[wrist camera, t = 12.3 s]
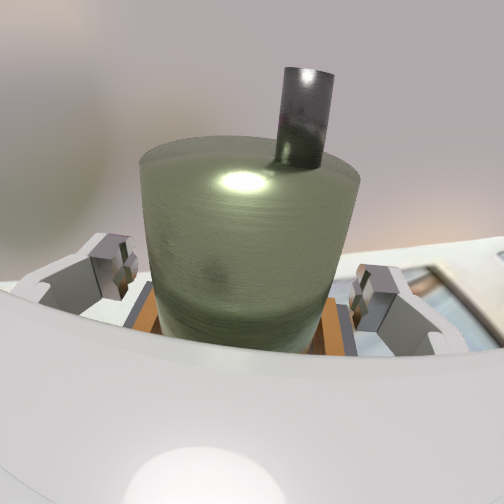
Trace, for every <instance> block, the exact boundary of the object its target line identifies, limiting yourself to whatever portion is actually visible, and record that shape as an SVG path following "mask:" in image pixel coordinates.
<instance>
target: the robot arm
mask: <svg viewBox="0 0 504 504" xmlns="http://www.w3.org/2000/svg"><path fill="white" fill-rule="evenodd" d="M134 249H135V242H134V239H133V238H132V237H131V236H123V235H116V234H108V233H101V232H100V233H96V234H95V235H94V236H93V237H92V238H91V239H90V240H89V241H88V242H87V243H86V244H85V245H84V246H83V247H82V248H81V249H80V251H78V252H77V253H76V254H71V255H69V256H67V257H64V258H62V259H60V260H58V261H55V262H53V263H51V264H49V265H47V266H45V267H42V268H40V269H38V270H36V271H34V272H32V273H30V274H28V275H26V276H24V277H23V278H22V279H21V280H20V281H19V283H18V284H17V285H16V286H15V287H14V288H13V290H12V291H11V292H10V293H8V292H6V291H3V290H0V504H504V348H501V349H493V350H485V351H477V352H470V350H469V348H468V346H467V344H466V342H465V340H464V338H463V335H462V333H461V331H460V330H459V329H458V328H456V327H455V326H454V325H453V324H452V323H450V322H449V321H448V320H447V319H445V318H444V317H443V316H442V315H441V314H439V313H438V312H437V311H436V310H434V309H433V308H432V307H431V306H429V305H428V304H427V303H426V302H424V301H423V300H422V299H420V298H419V297H418V296H417V295H413V294H412V292H411V290H410V288H409V286H408V284H407V282H406V280H405V278H404V276H403V274H402V272H401V271H400V269H399V268H398V267H391V266H378V265H367V264H360V265H359V267H358V269H357V271H356V275H357V278H358V279H357V280H356V281H354V282H353V283H352V285H351V288H350V293H349V305H350V308H351V309H352V310H353V311H354V315H353V317H352V318H353V322H354V326H355V330H356V331H365V332H377V334H378V335H379V337H380V338H381V339H382V340H383V341H384V343H385V344H386V345H387V346H388V347H389V349H390V350H391V351H392V352H393V354H394V355H395V356H396V357H359V356H328V355H310V354H296V353H283V352H273V351H263V350H254V349H245V348H237V347H230V346H223V345H216V344H209V343H203V342H196V341H191V340H185V339H179V338H174V337H168V336H163V335H158V334H153V333H148V332H143V331H139V330H134V329H129V328H125V327H121V326H117V325H112V324H108V323H104V322H100V321H97V320H93V319H89V318H85V317H82V316H78V315H80V314H81V313H82V312H84V311H85V310H87V309H88V308H89V307H91V306H92V305H94V304H95V303H96V302H98V301H99V300H101V299H102V298H107V299H112V300H118V301H122V299H123V297H124V296H125V294H126V292H127V291H128V284H129V283H131V282H133V281H134V279H135V277H136V275H137V271H138V259H137V256H136V255H135V254H134V253H133V250H134Z"/></svg>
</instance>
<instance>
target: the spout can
mask: <svg viewBox="0 0 504 504" xmlns="http://www.w3.org/2000/svg"><path fill="white" fill-rule="evenodd" d="M333 83H334V75H333V74H330V73H326V72H322V71H316V70H311V69H304V68H295V67H294V68H293V67H286V68H285V70H284V80H283V88H282V98H281V107H280V115H279V124H278V133H277V140H275V139H268V138H260V137H249V136H205V137H196V138H188V139H182V140H177V141H173V142H169V143H166V144H162V145H160V146H157V147H155V148H153V149H151V150H149V151H148V152H146V153H145V154H144V155H143V156H142V157H141V159H140V162H139V163H140V181H141V194H142V205H143V215H144V224H145V234H146V242H147V249H148V256H149V264H150V270H151V277H152V283H153V289H154V295H155V300H156V306H157V311H158V316H159V321H160V326H161V331H162V335H163V336H168V337H174V338H179V339H185V340H191V341H196V342H203V343H209V344H216V345H223V346H230V347H237V348H245V349H254V350H263V351H273V352H283V353H296V354H307V353H308V350H309V348H310V345H311V342H312V340H313V337H314V334H315V332H316V329H317V326H318V323H319V320H320V318H321V315H322V312H323V309H324V306H325V303H326V300H327V297H328V294H329V291H330V288H331V285H332V282H333V279H334V276H335V272H336V269H337V266H338V263H339V259H340V256H341V253H342V249H343V246H344V242H345V238H346V235H347V232H348V228H349V224H350V220H351V217H352V213H353V209H354V205H355V201H356V197H357V193H358V189H359V185H360V175H359V174H358V172H357V171H356V170H355V169H354V168H353V167H352V166H350V165H349V164H348V163H346V162H344V161H343V160H341V159H339V158H337V157H335V156H332V155H330V154H328V153H326V152H323V150H324V144H325V138H326V132H327V125H328V119H329V112H330V105H331V98H332V91H333Z"/></svg>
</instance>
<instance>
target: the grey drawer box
mask: <svg viewBox="0 0 504 504" xmlns="http://www.w3.org/2000/svg"><path fill="white" fill-rule="evenodd" d="M123 327H125V328H129V329H134V330H139V331H143V332H148V333H153V334H158V335H162V331H161V326H160V321H159V316H158V311H157V306H156V300H155V295H154V289H153V283H152V282H150V281H147V282H146V284H145V286H144V288H143V290H142V291H141V293H140V295H139V297H138V299H137V301H136V302H135V304H134V306H133V308H132V310H131V312H130V314H129V316H128V317H127V319H126V321H125V323H124V325H123ZM307 354H310V355H328V356H358V355H357V350H356V345H355V340H354V335H353V330H352V326H351V321H350V317H349V312H348V308H347V305H341V304H336V302H335V298H328V297H327V300H326V303H325V306H324V309H323V312H322V315H321V318H320V320H319V323H318V326H317V329H316V332H315V334H314V337H313V340H312V342H311V345H310V348H309V350H308V353H307Z"/></svg>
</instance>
